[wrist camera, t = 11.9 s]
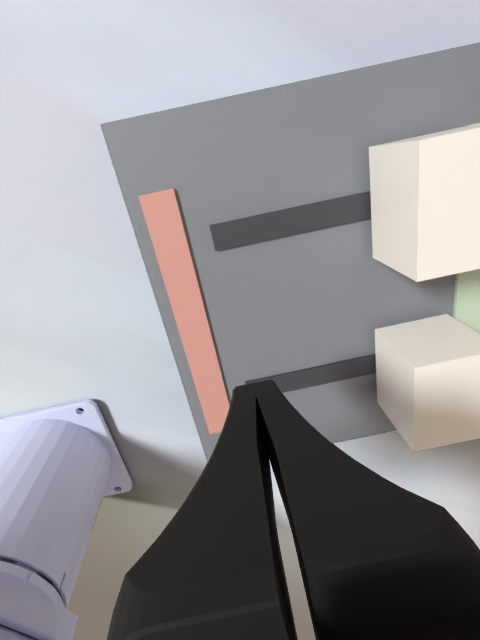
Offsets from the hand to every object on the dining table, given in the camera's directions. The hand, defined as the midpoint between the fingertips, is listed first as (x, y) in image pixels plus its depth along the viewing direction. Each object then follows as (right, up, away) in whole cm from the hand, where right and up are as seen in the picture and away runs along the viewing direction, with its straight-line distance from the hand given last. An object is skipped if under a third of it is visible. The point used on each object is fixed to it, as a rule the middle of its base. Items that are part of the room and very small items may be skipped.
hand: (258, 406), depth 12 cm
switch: (+9, +1, +8) cm, 12 cm away
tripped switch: (+7, +9, +4) cm, 12 cm away
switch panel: (+4, +5, +9) cm, 11 cm away
